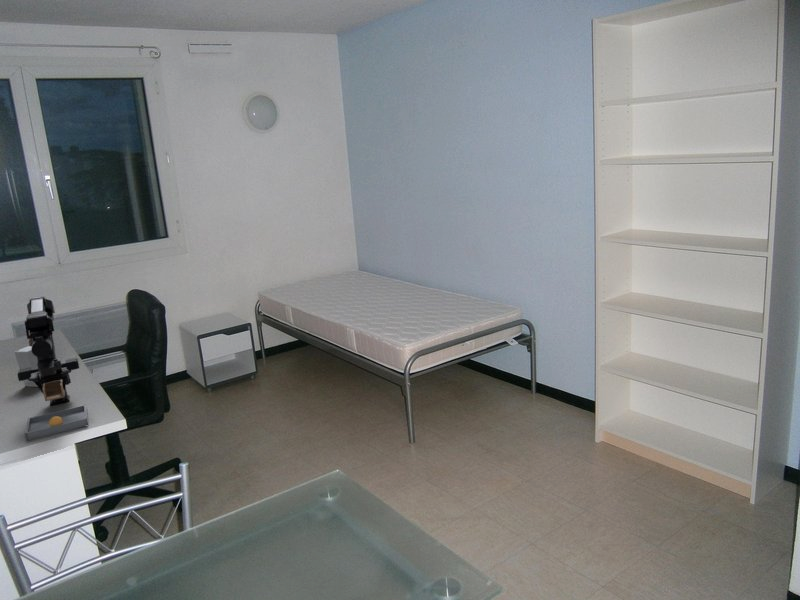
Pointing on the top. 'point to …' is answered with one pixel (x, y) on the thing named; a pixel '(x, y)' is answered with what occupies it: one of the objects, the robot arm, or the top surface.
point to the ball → (55, 421)
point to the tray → (41, 426)
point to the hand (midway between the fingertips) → (54, 391)
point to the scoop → (53, 390)
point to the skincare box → (27, 362)
